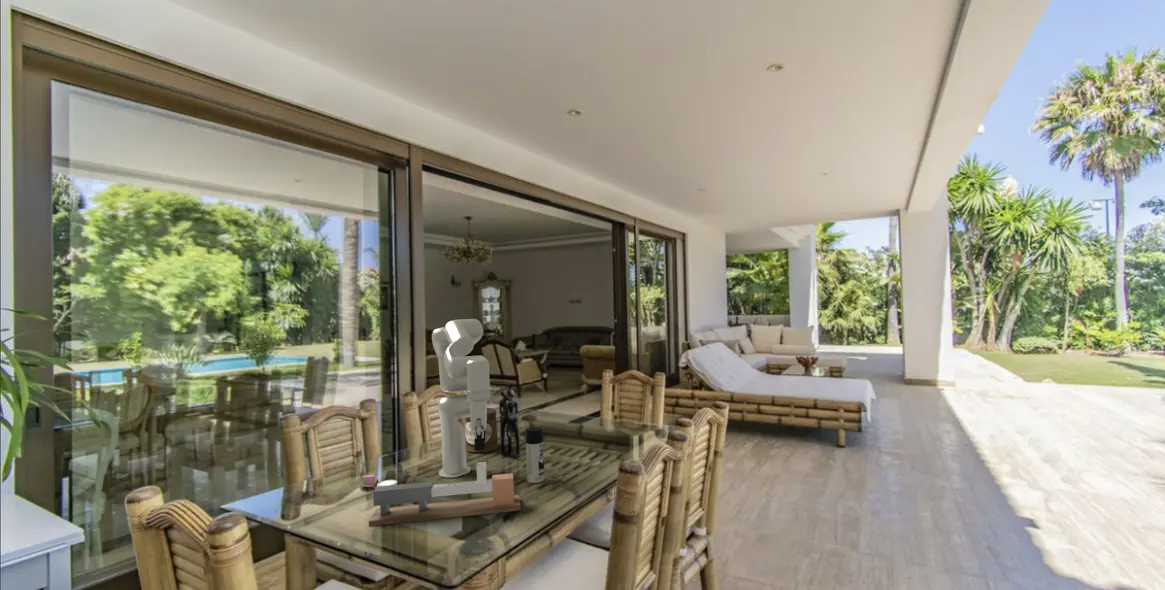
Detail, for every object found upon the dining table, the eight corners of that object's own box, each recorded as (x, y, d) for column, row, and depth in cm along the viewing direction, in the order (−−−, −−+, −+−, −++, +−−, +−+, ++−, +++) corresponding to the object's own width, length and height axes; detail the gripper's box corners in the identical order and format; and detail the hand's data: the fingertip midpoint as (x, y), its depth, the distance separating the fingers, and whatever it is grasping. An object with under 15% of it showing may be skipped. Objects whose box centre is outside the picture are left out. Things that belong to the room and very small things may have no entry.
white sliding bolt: (423, 494, 173) (422, 467, 174) (504, 486, 178) (503, 460, 178) (421, 498, 170) (420, 471, 170) (504, 490, 174) (503, 463, 174)
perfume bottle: (356, 494, 193) (356, 482, 193) (363, 483, 205) (363, 471, 205) (390, 490, 196) (390, 478, 196) (395, 479, 208) (395, 468, 208)
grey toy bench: (377, 511, 171) (376, 486, 171) (433, 506, 174) (432, 481, 174) (373, 517, 167) (373, 491, 167) (431, 511, 170) (430, 486, 170)
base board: (376, 513, 174) (376, 508, 174) (519, 499, 182) (519, 494, 182) (368, 526, 164) (368, 521, 164) (520, 510, 172) (520, 505, 172)
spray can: (541, 484, 196) (539, 431, 196) (524, 483, 197) (522, 430, 197) (546, 477, 202) (544, 426, 202) (530, 477, 203) (528, 426, 204)
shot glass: (378, 507, 178) (378, 487, 178) (376, 501, 184) (375, 481, 184) (399, 503, 182) (398, 483, 182) (396, 497, 188) (396, 478, 188)
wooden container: (461, 453, 239) (459, 406, 239) (473, 444, 254) (471, 399, 254) (491, 453, 237) (489, 405, 237) (501, 444, 251) (500, 399, 251)
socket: (493, 500, 178) (492, 475, 178) (513, 497, 179) (512, 473, 179) (493, 505, 173) (492, 480, 173) (514, 503, 174) (513, 478, 174)
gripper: (468, 391, 183) (470, 439, 183) (465, 401, 166) (467, 454, 166) (490, 389, 184) (491, 437, 184) (489, 400, 167) (491, 452, 167)
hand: (480, 445), depth 175 cm, fingers open, 9 cm apart
